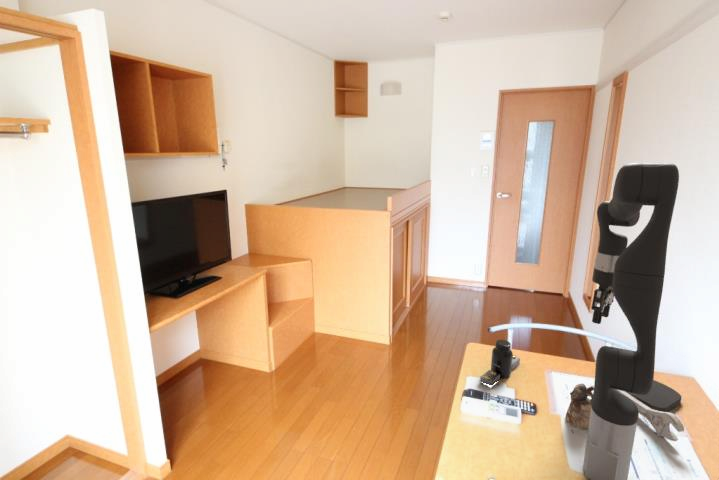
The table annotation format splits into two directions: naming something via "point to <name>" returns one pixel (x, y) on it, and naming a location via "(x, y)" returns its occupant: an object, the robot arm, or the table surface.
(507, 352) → the supplement bottle
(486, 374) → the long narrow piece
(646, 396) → the media streaming box
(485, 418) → the table surface
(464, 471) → the table surface
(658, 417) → the wrench
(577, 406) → the figurine
